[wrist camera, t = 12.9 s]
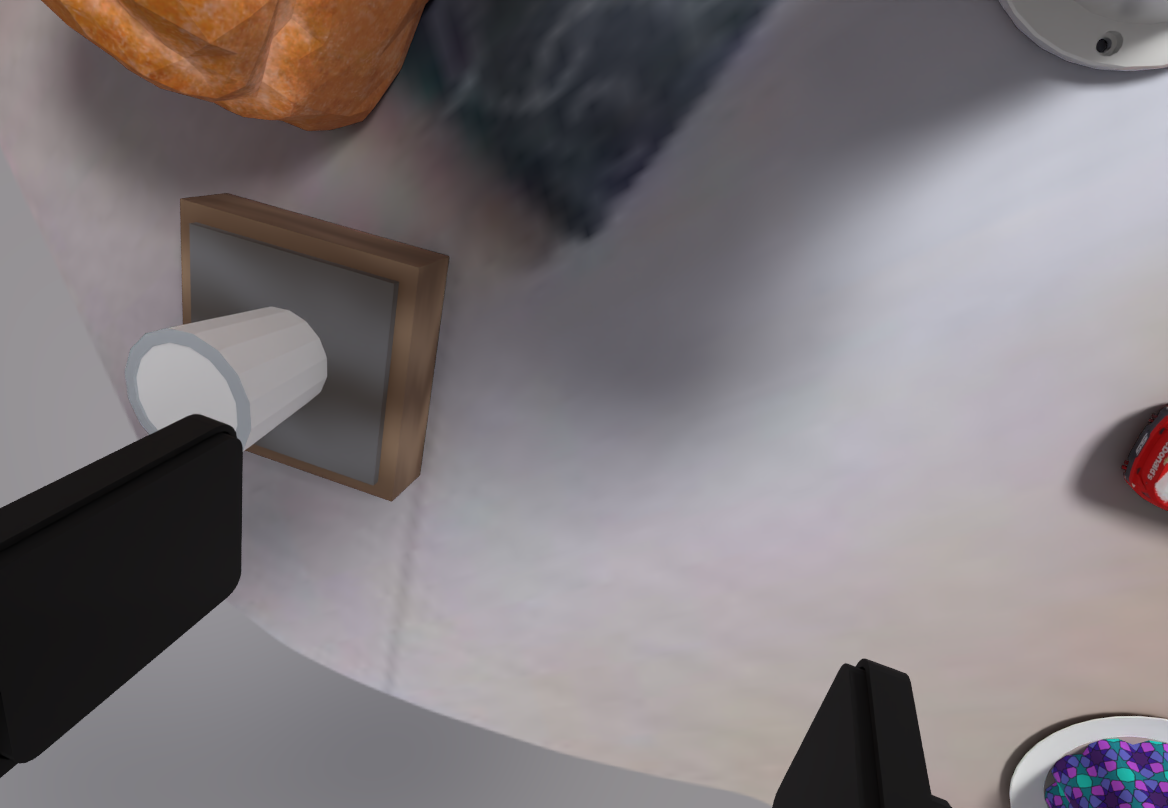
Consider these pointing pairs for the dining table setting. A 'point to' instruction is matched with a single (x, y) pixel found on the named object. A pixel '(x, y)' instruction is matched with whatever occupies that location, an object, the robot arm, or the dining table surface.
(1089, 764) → the pudding
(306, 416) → the tray
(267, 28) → the bread
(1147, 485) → the race car
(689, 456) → the dining table surface
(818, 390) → the dining table surface
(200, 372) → the shot glass
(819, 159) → the dining table surface
